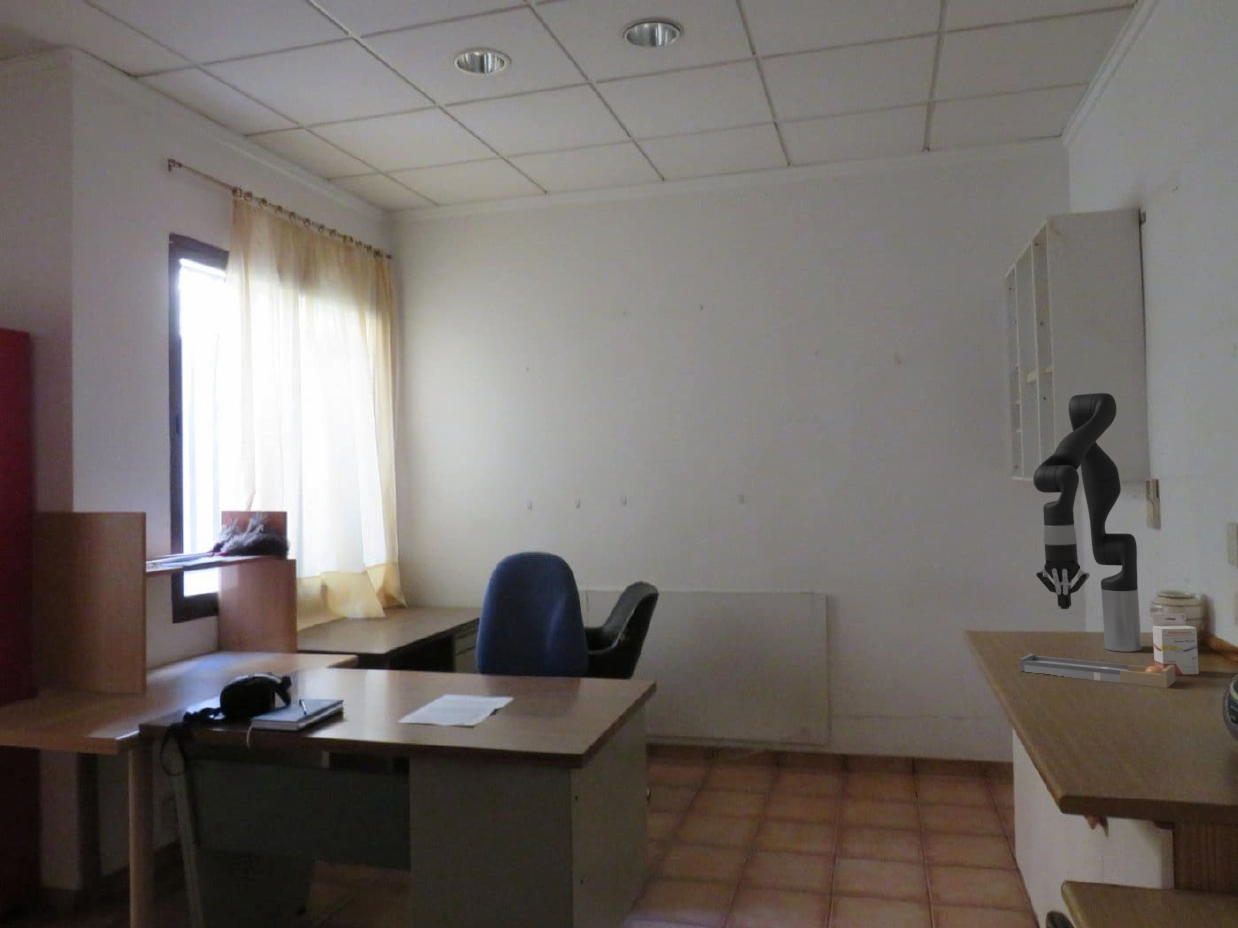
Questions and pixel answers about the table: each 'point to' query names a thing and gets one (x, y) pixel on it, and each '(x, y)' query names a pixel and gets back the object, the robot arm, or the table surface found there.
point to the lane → (1098, 671)
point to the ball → (1153, 670)
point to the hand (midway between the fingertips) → (1064, 608)
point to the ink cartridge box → (1175, 643)
